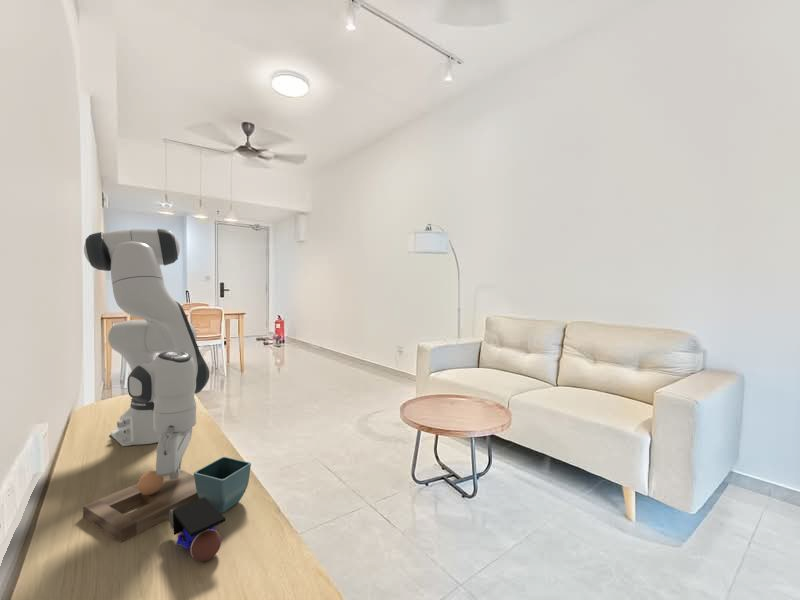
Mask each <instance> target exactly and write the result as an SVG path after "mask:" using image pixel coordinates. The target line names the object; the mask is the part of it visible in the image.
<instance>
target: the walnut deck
mask: <svg viewBox="0 0 800 600" xmlns="http://www.w3.org/2000/svg"><path fill="white" fill-rule="evenodd" d="M163 479H164V481H163V485H162V487H161V488H160V489H159V490H158V491H157V492H156V493H154V494H151V495H144V494H142V493H140V492H139V490H138V483H136V484H132V485H131V486H128V487H126V488H123V489H121V490H119V491H116V492H113V493H111V494H109V495H106V496H104V497H101V498H99V499H96V500H94V501H91V502H90V503H86V504H84V505H82V517H83V518H84V520H87V521H88V522H90V523H91V524H93V526H96V527H97V528H98V529H100V530H102V531H103V532H105V533H106V534H108V536H109V535H110V536H111V537H113V538H114V539H115V540H117V541H119V542H120V543H122V542H124V541H127V540H128V539H131V538H132V537H134V536H136V535H139V534H140V533H143V532H144V531H146V530H147V529H150V528H151V527H154V526H155V525H158V524H160V523H161V522H164V521H165V520H167V519H169V511H170V510H172V509H175V508H179V507H181V506H184V505H186V504H189V503H191V502H194V501H196V500H199V497H198V494H197V490H196V484H195V478H194V474H191V473H190V472H187V471H184V470H182V469H181V472H180V474H179V476H178V478H177V479H172V480H171V479H170V475H166V476H163ZM139 504H143V506H141V507H138V508H136V509H135V510H132V511H130V512H128V513H126V514H123V513H121V512H123V511H124V512H125V510H129V509H131V508H133V507H135V506H137V505H139Z"/></svg>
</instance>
